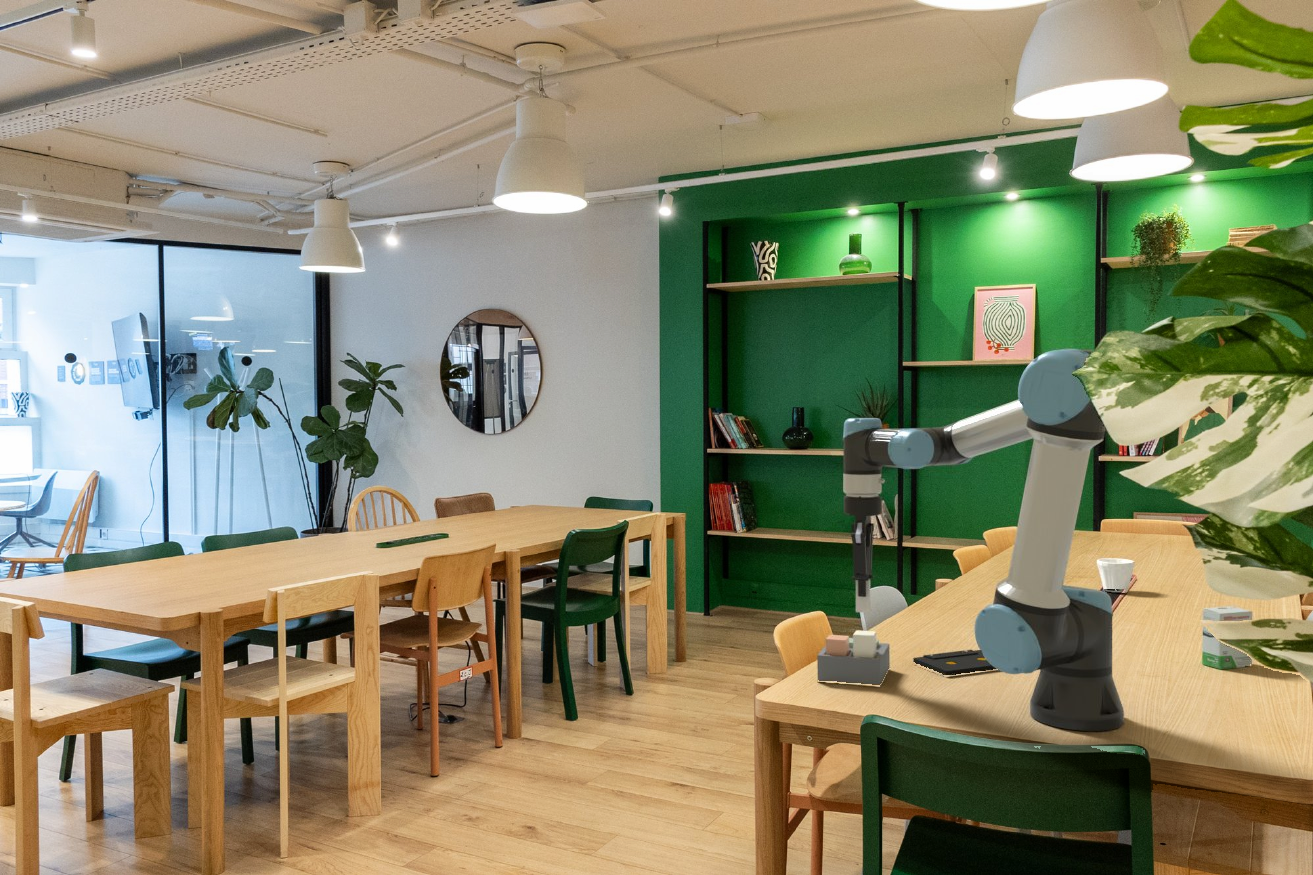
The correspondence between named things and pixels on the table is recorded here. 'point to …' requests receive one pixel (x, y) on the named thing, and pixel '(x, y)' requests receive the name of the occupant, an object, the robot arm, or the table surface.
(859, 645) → the cream block
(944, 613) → the table surface
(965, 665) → the black flat panel
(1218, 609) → the ink box
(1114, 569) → the cup
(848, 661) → the grey open box
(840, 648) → the pink block
